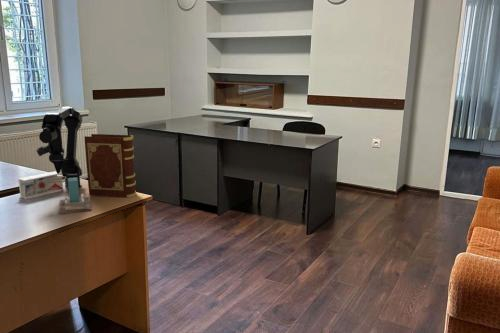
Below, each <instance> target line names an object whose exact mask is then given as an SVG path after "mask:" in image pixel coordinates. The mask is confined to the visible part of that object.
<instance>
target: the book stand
mask: <svg viewBox="0 0 500 333" xmlns="http://www.w3.org/2000/svg"><path fill="white" fill-rule="evenodd" d="M58 207H59V208H58V209H59V210H58V213H59V215H67V214H75V213H83V212H91V211H92V207H91V201H90V196H84V193H80V197H79V202H73V203H70V198H68V194H67V195H64V199H59V206H58Z"/></svg>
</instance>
